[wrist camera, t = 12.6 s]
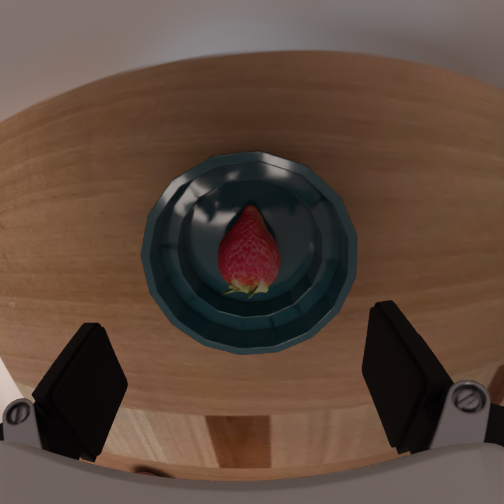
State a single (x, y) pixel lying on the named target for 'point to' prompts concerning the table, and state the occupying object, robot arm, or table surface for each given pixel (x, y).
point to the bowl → (284, 233)
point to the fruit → (248, 254)
